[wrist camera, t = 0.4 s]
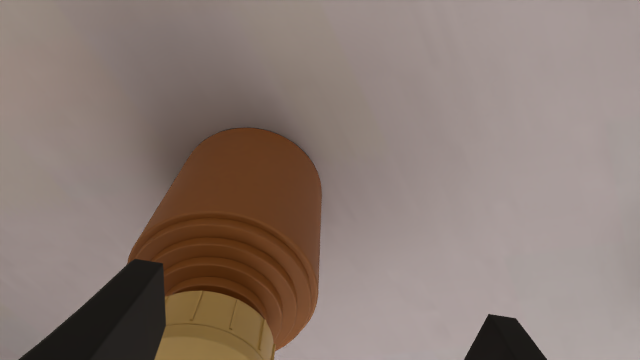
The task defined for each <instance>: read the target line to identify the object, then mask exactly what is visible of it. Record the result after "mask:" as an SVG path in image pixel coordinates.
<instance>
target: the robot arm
mask: <svg viewBox="0 0 640 360" xmlns="http://www.w3.org/2000/svg"><path fill="white" fill-rule="evenodd" d="M165 327H166V313H165V292H164V270H163V263H159V262H152V261H146V260H140V259H134V260H132V261H131V262H129V263H128V264H127V265H126V266H125V267H124V268H123V269H122V270H121V271H120V272H119V273H118V274H117V275H116V276H115V277H114V278H112V279H111V280H110V281H109V282H108V283H107V284H106V285H105V286H104V287H103V288H102V289H101V290H100V291H98V292H97V293H96V294H95V295H94V296H93V297H92V298H91V299H90V300H89V301H87V302H86V303H85V304H84V305H83V306H82V307H81V308H80V309H78V310H77V311H76V312H75V313H74V314H73V315H72V316H70V317H69V318H68V319H67V320H66V321H65V322H63V323H62V324H61V325H60V326H59V327H58V328H56V329H55V330H54V331H53V332H52V333H51V334H49V335H48V336H47V337H46V338H45V339H44V340H42V341H41V342H40V343H39V344H37V345H36V346H35V347H34V348H32V349H31V350H30V351H29V352H27V353H26V354H25V355H24V356H22V357H21V358H20V359H19V360H154V359H155V357H156V354H157V351H158V348H159V345H160V342H161V339H162V336H163V333H164V330H165ZM464 360H547V359H546V357H545V356H544V355H543V353H542V352H541V351H540V350H539V348H538V347H537V346H536V344H535V343H534V342H533V340H532V339H531V338H530V336H529V335H528V334H527V332H526V331H525V330H524V328H523V327H522V326H521V325H520V323H519V322H518V321H517V320H516V318H510V317H504V316H497V315H491V314H488V316H487V318H486V320H485V322H484V324H483V326H482V327H481V329H480V331H479V333H478V335H477V337H476V339H475V340H474V342H473V344H472V346H471V348H470V350H469V351H468V353H467V355H466V357H465V359H464Z"/></svg>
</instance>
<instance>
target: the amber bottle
mask: <svg viewBox="0 0 640 360" xmlns="http://www.w3.org/2000/svg"><path fill="white" fill-rule="evenodd" d="M321 199H322V191H321V183H320V178H319V175H318V173H317V170H316V168H315V166H314V164H313V163H312V162H311V160H310V159H309V157H308V156H307V155H306V154H305V153H304V152H303V151H302V150H301V149H300V148H299V147H298V146H297V145H296V144H294V143H293V142H291V141H290V140H288V139H286V138H284V137H282V136H280V135H278V134H276V133H273V132H270V131H266V130H262V129H256V128H236V129H229V130H226V131H222V132H219V133H217V134H215V135H212V136H211V137H209V138H207V139H206V140H204V141H203V142H202V143H201V144H199V145H198V146H197V147H196V148H195V149H194V151H193V152H192V153H191V155H190V156H189V158H188V159H187V161H186V163H185V164H184V166H183V167H182V169H181V171H180V172H179V174H178V176H177V177H176V179H175V180H174V182H173V184H172V185H171V187H170V188H169V190H168V192H167V193H166V195H165V197H164V198H163V200H162V201H161V203H160V205H159V206H158V208H157V209H156V211H155V213H154V214H153V216H152V218H151V219H150V221H149V222H148V224H147V226H146V227H145V229H144V230H143V232H142V234H141V235H140V237H139V239H138V240H137V242H136V243H135V245H134V247H133V248H132V251H131V253H130V255H129V258H128V263H129V262H131V261H132V260H134V259H140V260H146V261H152V262H159V263H163V270H164V292H165V296H170V295H173V294H176V293H181V292H187V291H210V292H216V293H221V294H224V295H228V296H231V297H233V298H236V299H238V300H240V301H242V302H244V303H246V304H247V305H249V306H250V307H252V308H253V309H254V310H255V311H257V312H258V313H259V314H260V315H261V316H262V317H263V319H265V320H266V323H267V324H268V326H269V328H270V330H271V333H272V336H273V342H274V344H276V347H275V351H276V350H278V349H280V348H282V347H284V346H285V345H286V344H288V343H289V342H290V341H292V340H293V339H294V338H295V337H296V336H297V335H298V334H299V332H300V331H301V330H302V329H303V328H304V327H305V326H306V324H307V323H308V322H309V320H310V318H311V317H312V315H313V313H314V310H315V307H316V304H317V298H318V283H319V255H320V227H321ZM128 263H127V264H128Z"/></svg>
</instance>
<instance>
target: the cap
mask: <svg viewBox="0 0 640 360" xmlns="http://www.w3.org/2000/svg"><path fill="white" fill-rule="evenodd" d="M165 313H166V327H165V330H164V333H163V336H162V339H161V342H160V345H159V348H158V351H157V354H156V357H155V359H154V360H274V354H275V347H276V344H274V342H273V336H272V333H271V330H270V328H269V326H268V324H267V323H266V320H265V319H263V317H262V316H261V315H260V314H259V313H258V312H257V311H255V310H254V309H253V308H252V307H250V306H249V305H247V304H246V303H244V302H242V301H240V300H238V299H236V298H233V297H231V296H228V295H224V294H221V293H216V292H210V291H187V292H181V293H176V294H173V295H170V296H165Z"/></svg>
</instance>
